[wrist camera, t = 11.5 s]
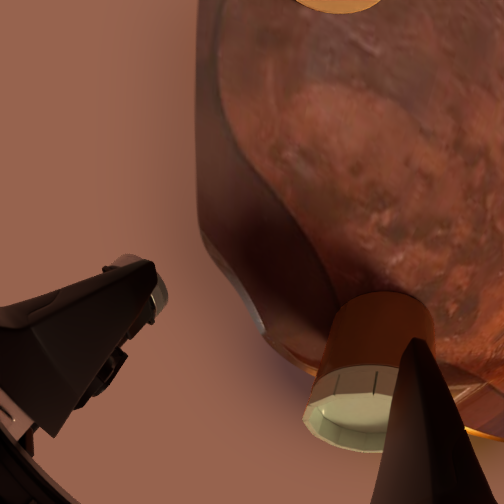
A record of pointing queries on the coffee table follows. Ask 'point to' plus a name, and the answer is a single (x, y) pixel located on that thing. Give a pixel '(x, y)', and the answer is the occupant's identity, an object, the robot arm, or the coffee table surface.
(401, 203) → the coffee table surface
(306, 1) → the coaster
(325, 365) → the jar
